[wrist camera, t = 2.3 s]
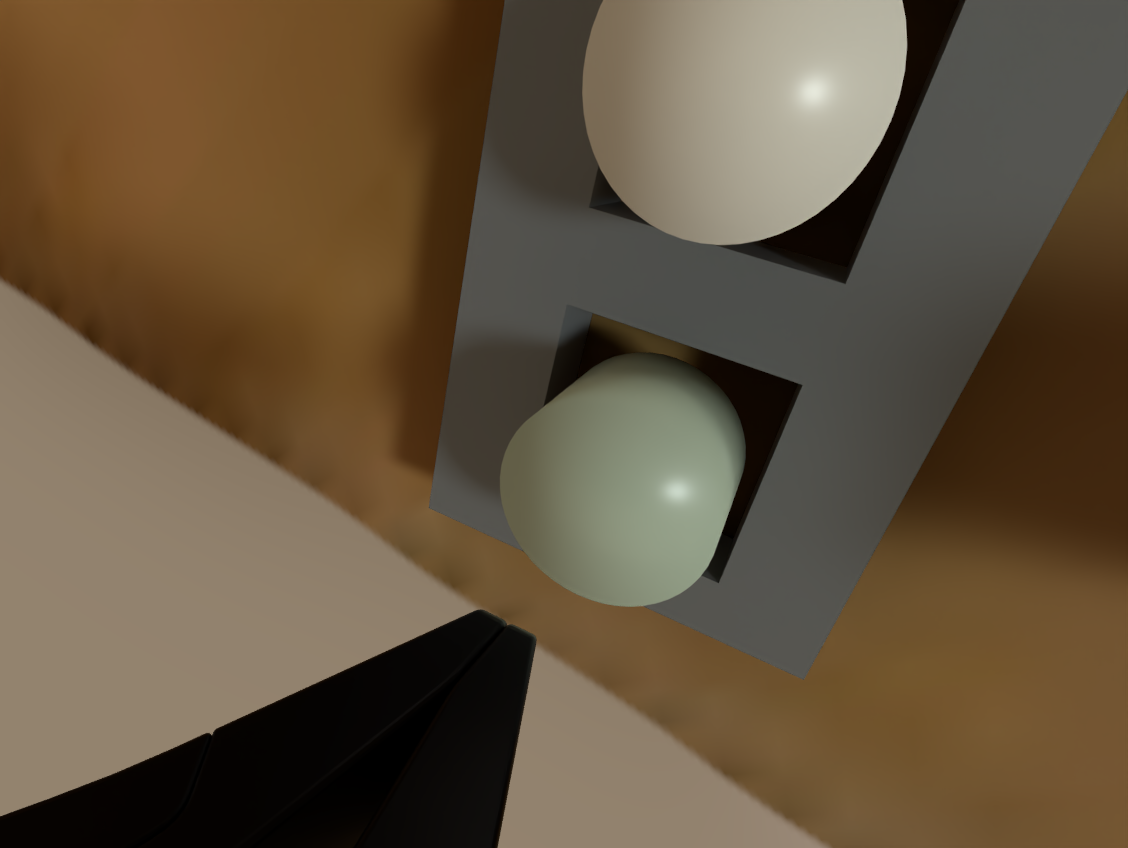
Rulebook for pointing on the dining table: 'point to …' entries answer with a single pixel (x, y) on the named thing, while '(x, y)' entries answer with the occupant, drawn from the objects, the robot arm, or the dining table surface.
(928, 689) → the dining table surface
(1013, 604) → the dining table surface
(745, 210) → the cream button
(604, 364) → the sage button
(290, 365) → the dining table surface
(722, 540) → the button panel
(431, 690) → the robot arm
